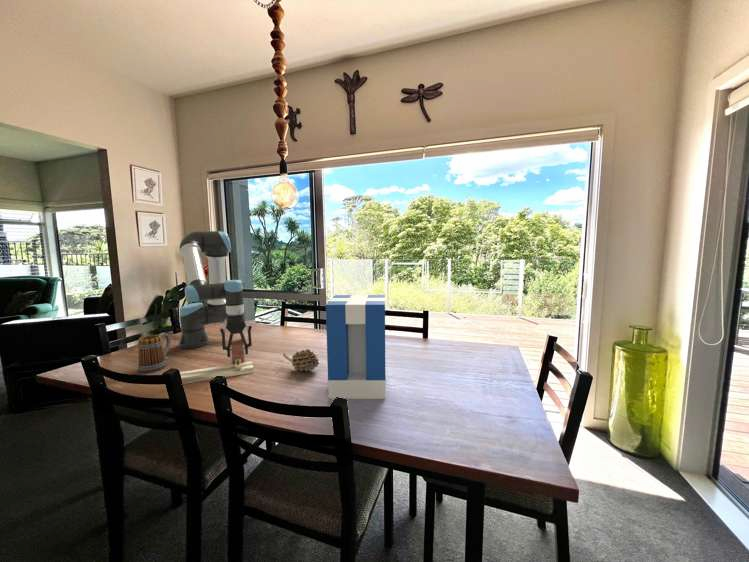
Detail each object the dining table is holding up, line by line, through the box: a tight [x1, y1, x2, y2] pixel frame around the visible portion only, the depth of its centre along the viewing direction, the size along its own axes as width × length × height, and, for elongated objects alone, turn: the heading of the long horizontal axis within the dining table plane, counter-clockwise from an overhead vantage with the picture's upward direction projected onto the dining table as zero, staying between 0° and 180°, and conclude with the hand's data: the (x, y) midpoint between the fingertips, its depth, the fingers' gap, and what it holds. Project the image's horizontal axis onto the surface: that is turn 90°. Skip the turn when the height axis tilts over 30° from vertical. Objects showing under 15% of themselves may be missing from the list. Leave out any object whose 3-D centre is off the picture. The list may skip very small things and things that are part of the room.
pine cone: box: [282, 348, 320, 372], centre depth 142 cm, size 22×10×10 cm, turn 62°
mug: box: [137, 332, 171, 374], centre depth 146 cm, size 16×11×15 cm
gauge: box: [230, 338, 245, 370], centre depth 142 cm, size 14×5×12 cm, turn 24°
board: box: [179, 361, 254, 385], centre depth 137 cm, size 9×30×2 cm, turn 114°
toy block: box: [325, 294, 387, 400], centre depth 123 cm, size 21×21×35 cm
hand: (238, 362), depth 147 cm, fingers closed on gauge, 5 cm apart
